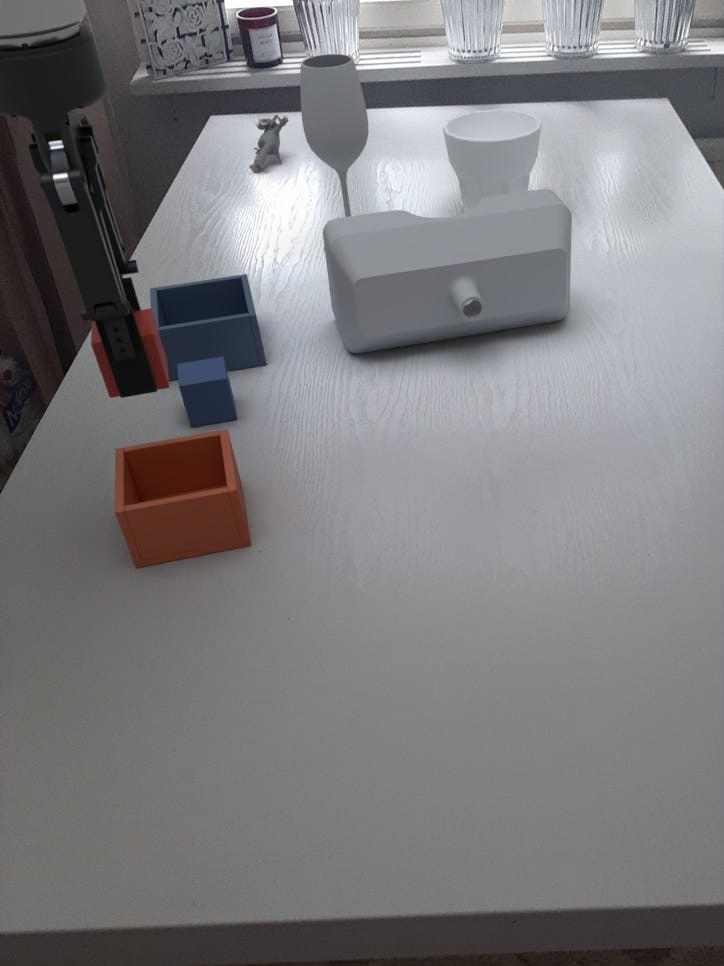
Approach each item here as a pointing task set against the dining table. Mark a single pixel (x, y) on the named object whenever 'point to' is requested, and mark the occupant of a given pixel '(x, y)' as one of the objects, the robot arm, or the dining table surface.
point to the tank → (449, 271)
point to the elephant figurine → (268, 141)
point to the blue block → (206, 391)
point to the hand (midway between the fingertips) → (138, 375)
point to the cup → (492, 152)
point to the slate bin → (208, 323)
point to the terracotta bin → (180, 498)
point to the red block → (151, 346)
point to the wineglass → (334, 113)
